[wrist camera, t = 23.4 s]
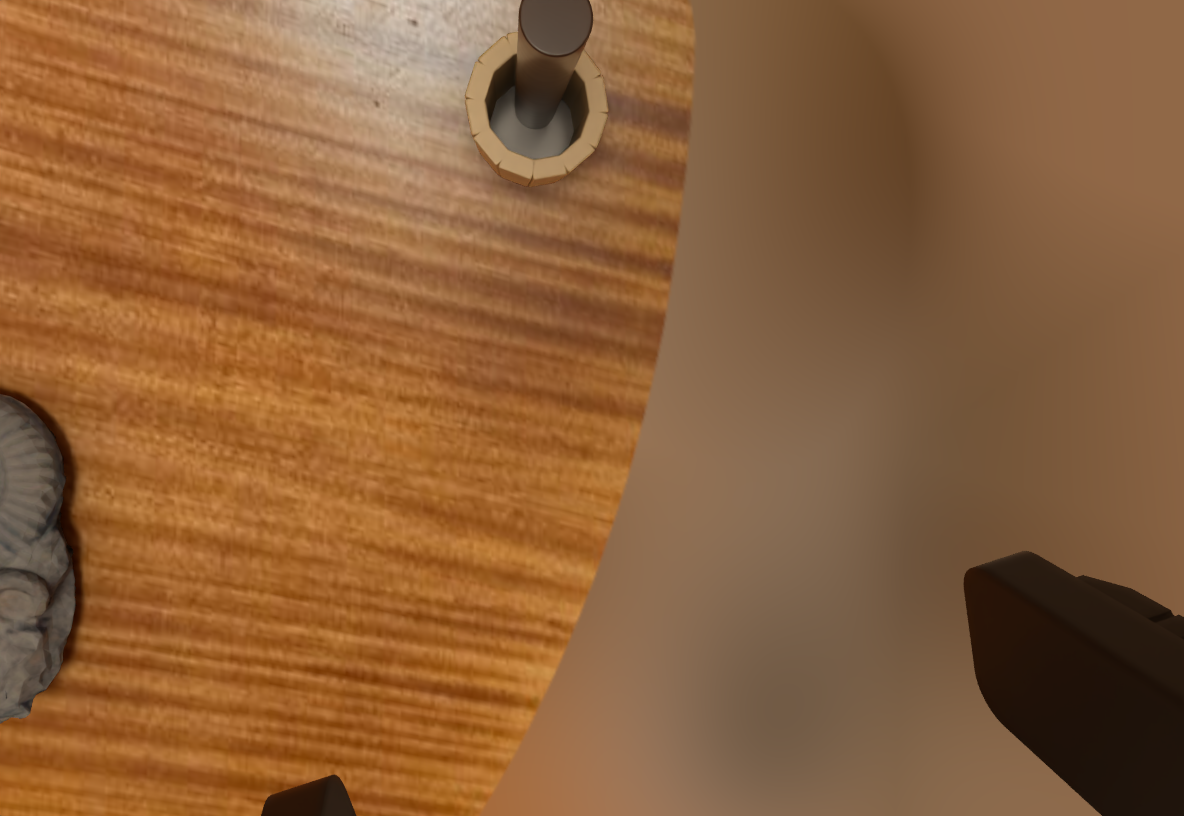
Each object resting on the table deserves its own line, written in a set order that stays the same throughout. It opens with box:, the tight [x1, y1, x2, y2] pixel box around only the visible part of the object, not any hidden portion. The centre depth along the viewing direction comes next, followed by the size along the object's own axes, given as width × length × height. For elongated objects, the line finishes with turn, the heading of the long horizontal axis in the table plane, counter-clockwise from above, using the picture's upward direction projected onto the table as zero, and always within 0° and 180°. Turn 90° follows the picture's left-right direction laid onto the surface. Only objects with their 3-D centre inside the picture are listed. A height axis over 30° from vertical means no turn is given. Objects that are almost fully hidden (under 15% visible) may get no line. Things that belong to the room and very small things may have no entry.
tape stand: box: [490, 0, 593, 159], centre depth 32 cm, size 6×6×20 cm
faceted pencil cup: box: [465, 32, 609, 187], centre depth 36 cm, size 6×6×8 cm
